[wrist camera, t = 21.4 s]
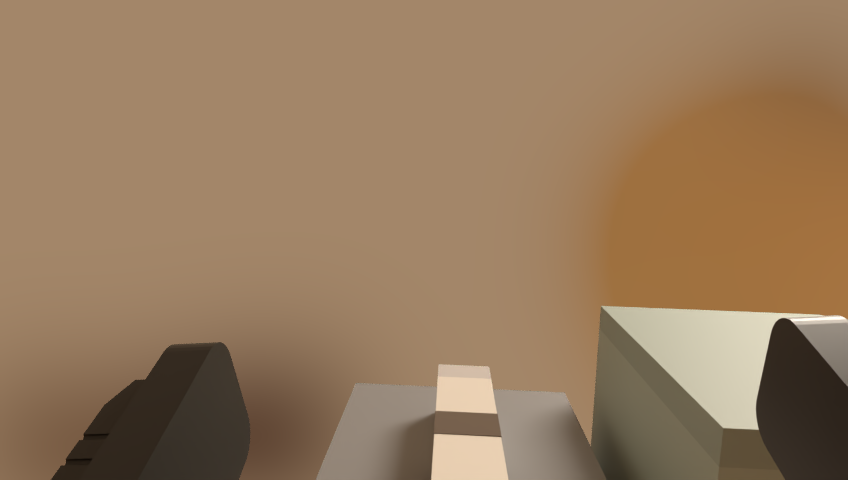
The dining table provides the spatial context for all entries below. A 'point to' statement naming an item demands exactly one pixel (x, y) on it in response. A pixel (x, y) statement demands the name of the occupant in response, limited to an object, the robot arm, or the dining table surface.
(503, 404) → the block
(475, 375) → the pale wooden bar
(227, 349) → the robot arm
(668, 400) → the sage green tall pillar
